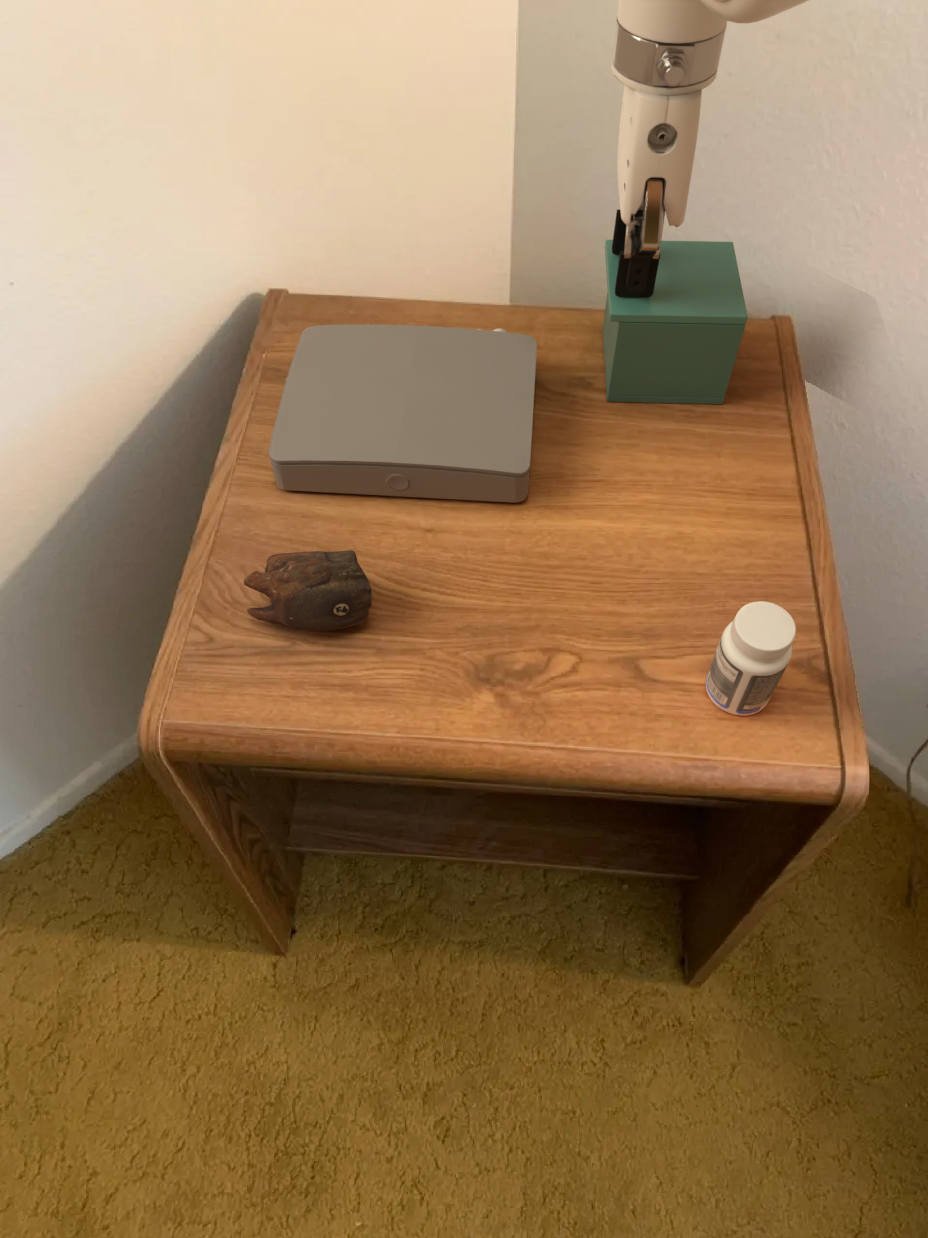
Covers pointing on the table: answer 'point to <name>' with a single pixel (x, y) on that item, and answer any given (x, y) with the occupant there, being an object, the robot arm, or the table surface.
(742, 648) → the pill bottle
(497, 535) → the table surface
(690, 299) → the lid
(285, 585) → the dark brown rock
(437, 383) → the electronic device
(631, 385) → the green box
